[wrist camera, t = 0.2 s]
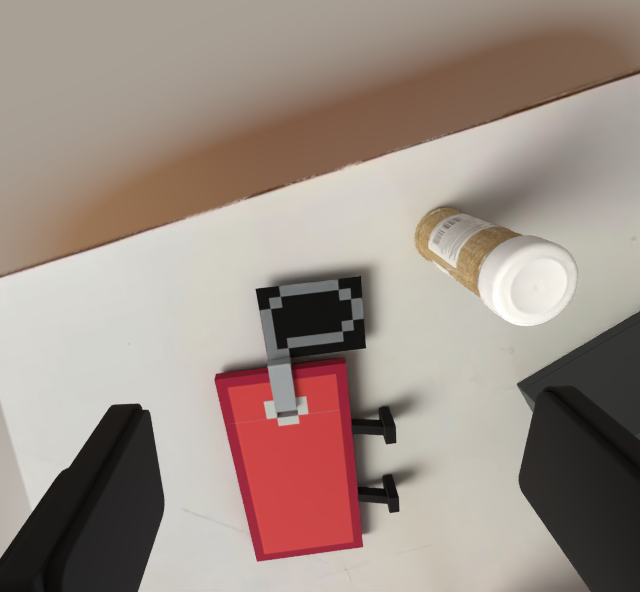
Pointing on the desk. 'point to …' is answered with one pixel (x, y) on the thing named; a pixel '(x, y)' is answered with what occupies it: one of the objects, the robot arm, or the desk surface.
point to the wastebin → (600, 374)
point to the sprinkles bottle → (500, 265)
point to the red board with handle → (302, 424)
